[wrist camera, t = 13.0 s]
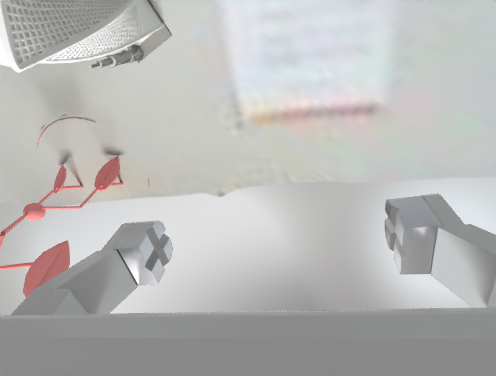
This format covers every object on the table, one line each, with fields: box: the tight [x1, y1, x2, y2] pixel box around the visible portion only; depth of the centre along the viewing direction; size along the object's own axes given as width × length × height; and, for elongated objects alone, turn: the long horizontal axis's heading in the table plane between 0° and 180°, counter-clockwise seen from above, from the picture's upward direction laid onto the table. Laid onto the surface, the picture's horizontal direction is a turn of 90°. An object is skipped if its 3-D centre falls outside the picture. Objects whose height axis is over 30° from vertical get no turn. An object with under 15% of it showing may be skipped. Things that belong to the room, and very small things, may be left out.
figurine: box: [0, 118, 149, 298], centre depth 40 cm, size 15×26×35 cm, turn 99°
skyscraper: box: [0, 0, 172, 73], centre depth 30 cm, size 8×8×28 cm
